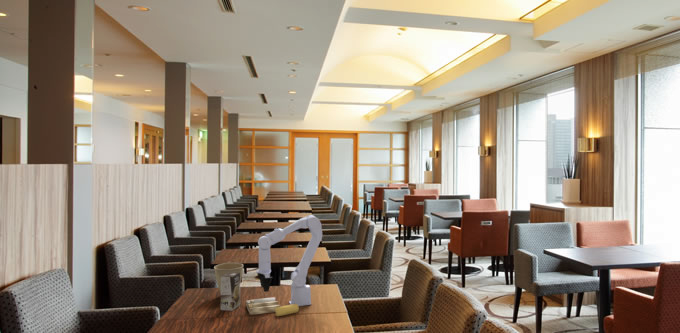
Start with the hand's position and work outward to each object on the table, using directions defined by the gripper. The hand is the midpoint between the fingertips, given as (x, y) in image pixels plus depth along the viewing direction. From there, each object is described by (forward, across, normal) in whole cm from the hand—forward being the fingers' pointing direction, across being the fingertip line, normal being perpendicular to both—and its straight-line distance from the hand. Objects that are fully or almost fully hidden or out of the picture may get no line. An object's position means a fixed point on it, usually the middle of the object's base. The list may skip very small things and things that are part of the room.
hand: (264, 289), depth 219 cm
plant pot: (+9, -23, -15) cm, 29 cm away
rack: (+8, +3, -1) cm, 9 cm away
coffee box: (+9, -4, -16) cm, 19 cm away
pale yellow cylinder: (+7, +14, +8) cm, 17 cm away
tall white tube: (+7, 0, 0) cm, 7 cm away
